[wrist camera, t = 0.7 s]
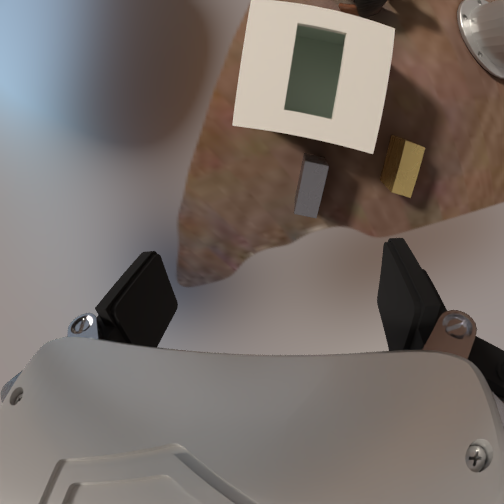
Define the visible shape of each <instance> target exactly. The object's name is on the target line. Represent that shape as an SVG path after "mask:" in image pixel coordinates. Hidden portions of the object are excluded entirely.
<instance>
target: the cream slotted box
mask: <svg viewBox="0 0 504 504" xmlns="http://www.w3.org/2000/svg"><path fill="white" fill-rule="evenodd" d="M394 34H395V28H392V27H389V26H387V25H384V24H381V23H378V22H375V21H372V20H368V19H365V18H362V17H358V16H355V15H351V14H347V13H343V12H339V11H335V10H331V9H326V8H321V7H316V6H310V5H304V4H298V3H291V2H283V1H273V0H251V4H250V10H249V16H248V21H247V27H246V33H245V40H244V46H243V52H242V59H241V66H240V72H239V79H238V86H237V94H236V101H235V109H234V116H233V124H232V126H240V127H247V128H254V129H261V130H267V131H274V132H279V133H285V134H290V135H296V136H301V137H306V138H310V139H315V140H319V141H324V142H328V143H332V144H337V145H341V146H345V147H348V148H352V149H356V150H360V151H363V152H367V153H370V154H373V152H374V148H375V144H376V140H377V135H378V131H379V126H380V122H381V117H382V112H383V107H384V102H385V96H386V91H387V85H388V79H389V73H390V66H391V59H392V51H393V43H394Z"/></svg>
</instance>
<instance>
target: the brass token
mask: <svg viewBox="0 0 504 504" xmlns="http://www.w3.org/2000/svg"><path fill="white" fill-rule="evenodd" d="M424 151H425V147H422V146H420V145H418V144H415V143H413V142H411V141H408V140H405V139H403V138H400V137H397V136H394V135H391V139H390V143H389V147H388V151H387V155H386V159H385V163H384V167H383V170H382V174H381V178H380V180H381V181H382V183H383V184H384V185H385V186H386V187H387V188H388V189H389V190H390V191H391V192H393V193H396V194H399V195H402V196H406V197H409V198H411V195H412V192H413V189H414V186H415V183H416V179H417V176H418V172H419V169H420V165H421V162H422V158H423V154H424Z"/></svg>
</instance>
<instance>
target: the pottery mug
mask: <svg viewBox="0 0 504 504" xmlns="http://www.w3.org/2000/svg"><path fill="white" fill-rule="evenodd" d="M354 1H355V3H356V4H355V5H353V4H352V5H350V4H343V3H340V4H339V8H340V10H341V12H343V13H347V14H351V15H355V16H358V17H365V16H371V15H374V14H377V13H378V12H379V11H380V10H381V8H382V6H383V5H384V4H385V2H386V1H387V0H354Z"/></svg>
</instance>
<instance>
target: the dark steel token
mask: <svg viewBox="0 0 504 504" xmlns="http://www.w3.org/2000/svg"><path fill="white" fill-rule="evenodd" d="M328 168H329V166H328V163H327V161H326V159H325V157H321V156H316V155H312V154H307V153H304V156H303V161H302V166H301V171H300V176H299V181H298V186H297V191H296V196H295V208H294V214H298V215H303V216H308V217H313V218H317V214H318V210H319V206H320V202H321V198H322V194H323V189H324V185H325V181H326V177H327V172H328Z"/></svg>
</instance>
